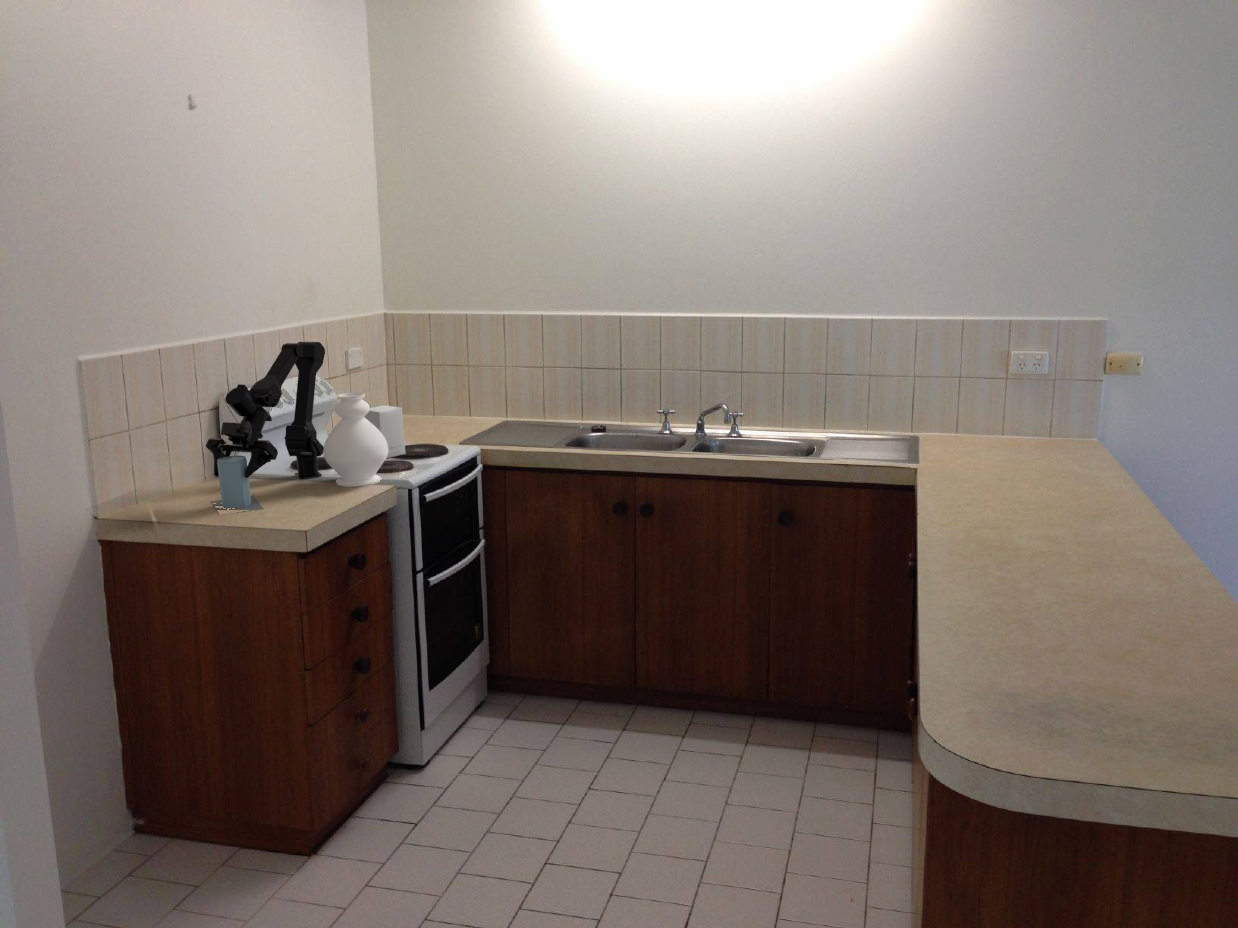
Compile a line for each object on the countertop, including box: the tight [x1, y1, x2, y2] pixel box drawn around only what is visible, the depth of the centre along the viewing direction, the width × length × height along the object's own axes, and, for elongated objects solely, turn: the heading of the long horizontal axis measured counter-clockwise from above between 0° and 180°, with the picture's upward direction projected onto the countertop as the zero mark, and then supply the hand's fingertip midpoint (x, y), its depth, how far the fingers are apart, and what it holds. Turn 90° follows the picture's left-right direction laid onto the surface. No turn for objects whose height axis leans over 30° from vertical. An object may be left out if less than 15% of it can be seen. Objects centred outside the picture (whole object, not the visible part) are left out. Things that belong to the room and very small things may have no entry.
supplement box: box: [364, 404, 406, 459], centre depth 339 cm, size 9×9×15 cm
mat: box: [210, 495, 264, 514], centre depth 286 cm, size 16×11×1 cm
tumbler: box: [217, 455, 252, 509], centre depth 284 cm, size 7×7×12 cm
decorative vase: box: [323, 391, 388, 488], centre depth 306 cm, size 18×18×25 cm
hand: (230, 476), depth 283 cm, fingers open, 9 cm apart
